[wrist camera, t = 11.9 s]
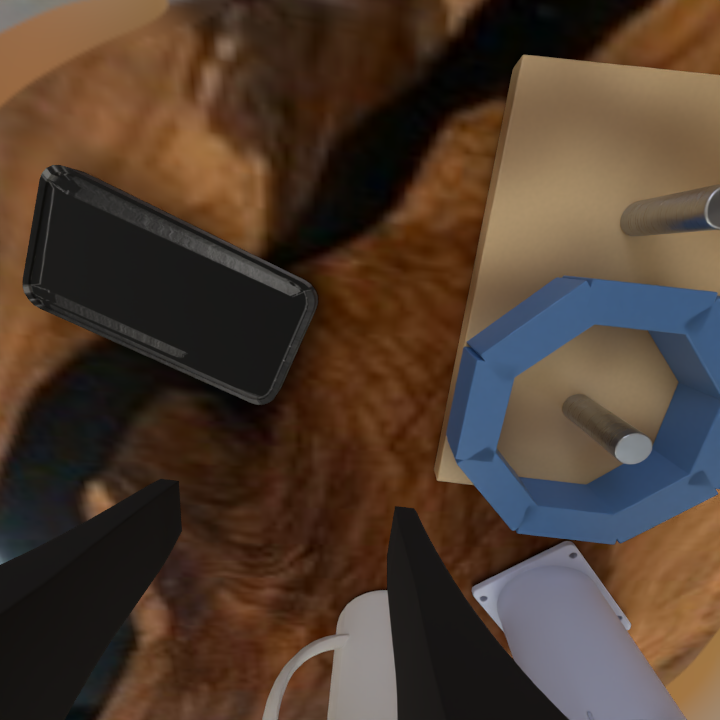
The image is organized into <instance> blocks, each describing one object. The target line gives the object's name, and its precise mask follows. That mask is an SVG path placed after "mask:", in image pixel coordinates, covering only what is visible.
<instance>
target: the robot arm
mask: <svg viewBox="0 0 720 720" xmlns="http://www.w3.org/2000/svg"><path fill="white" fill-rule="evenodd" d="M181 531H182V527H181V511H180V495H179V481H174V480H165V479H160V480H158V481H156V482H154V483H152V484H150V485H148V486H147V487H145V488H143V489H141V490H140V491H138V492H136V493H135V494H133V495H131V496H130V497H128V498H126V499H124V500H123V501H121V502H119V503H118V504H116V505H114V506H112V507H111V508H109V509H107V510H105V511H104V512H102V513H100V514H99V515H97V516H95V517H93V518H92V519H90V520H88V521H86V522H84V523H82V524H81V525H79V526H77V527H75V528H73V529H71V530H69V531H68V532H66V533H64V534H62V535H60V536H58V537H56V538H55V539H53V540H51V541H49V542H47V543H45V544H43V545H41V546H39V547H37V548H35V549H33V550H31V551H29V552H27V553H25V554H23V555H21V556H18V557H16V558H14V559H12V560H10V561H8V562H6V563H3V564H1V565H0V720H64V719H65V718H66V716H67V714H68V712H69V710H70V709H71V707H72V705H73V703H74V701H75V700H76V698H77V696H78V695H79V693H80V691H81V689H82V688H83V686H84V684H85V683H86V681H87V679H88V678H89V676H90V674H91V672H92V671H93V669H94V667H95V666H96V664H97V662H98V660H99V659H100V657H101V656H102V654H103V652H104V651H105V649H106V648H107V646H108V645H109V643H110V642H111V640H112V639H113V637H114V636H115V634H116V633H117V631H118V630H119V629H120V627H121V626H122V624H123V623H124V621H125V620H126V618H127V617H128V616H129V614H130V613H131V611H132V610H133V608H134V607H135V605H136V604H137V603H138V601H139V600H140V598H141V597H142V595H143V594H144V593H145V591H146V590H147V588H148V587H149V585H150V584H151V582H152V581H153V579H154V578H155V576H156V575H157V574H158V572H159V571H160V569H161V568H162V566H163V565H164V563H165V561H166V560H167V558H168V556H169V554H170V552H171V551H172V549H173V547H174V545H175V543H176V541H177V539H178V537H179V535H180V533H181ZM387 592H388V602H389V613H390V623H391V633H392V643H393V653H394V663H395V673H396V688H397V718H398V720H687V719H686V718H685V716H684V715H683V713H682V712H681V710H680V709H679V707H678V706H677V704H676V703H675V701H674V700H673V698H672V697H671V696H670V694H669V692H668V691H667V689H666V688H665V687H664V685H663V684H662V682H661V681H660V679H659V678H658V676H657V675H656V673H655V672H654V670H653V669H652V667H651V666H650V664H649V663H648V661H647V660H646V658H645V657H644V655H643V654H642V652H641V651H640V649H639V648H638V646H637V645H636V643H635V642H634V641H633V639H632V638H631V636H630V635H629V633H628V632H627V630H629V629H630V628H631V623H630V622H629V620H628V619H627V617H626V616H625V614H624V613H623V612H622V610H621V609H620V607H619V606H618V605H617V603H616V602H615V600H614V599H613V598H612V596H611V595H610V593H609V592H608V591H607V589H606V588H605V586H604V585H603V584H602V582H601V581H600V579H599V578H598V577H597V575H596V574H595V572H594V571H593V570H592V568H591V567H590V565H589V564H588V563H587V561H586V560H585V558H584V557H583V556H582V554H581V553H580V551H579V550H578V549H577V547H576V546H575V544H574V543H573V542H571V541H564V542H562V543H560V544H558V545H556V546H554V547H552V548H550V549H548V550H546V551H544V552H542V553H540V554H537V555H535V556H533V557H531V558H529V559H527V560H525V561H523V562H521V563H519V564H517V565H515V566H513V567H511V568H509V569H507V570H505V571H503V572H501V573H499V574H497V575H495V576H493V577H491V578H489V579H487V580H485V581H483V582H481V583H479V584H477V585H475V586H473V588H472V594H473V596H474V597H475V599H476V600H477V601H478V602H479V603H480V605H481V606H482V607H483V608H484V609H485V610H486V612H487V613H488V614H489V615H490V616H491V617H492V619H493V620H494V621H495V622H496V623H497V625H498V626H499V627H500V628H501V629H502V630H503V632H504V633H505V636H506V639H507V641H508V644H509V647H510V650H511V653H512V656H513V659H514V660H513V659H512V658H511V657H510V655H509V654H508V653H507V652H506V651H505V650H504V649H503V647H502V646H501V645H500V644H499V642H498V641H497V640H496V639H495V637H494V636H493V635H492V634H491V632H490V631H489V630H488V628H487V627H486V626H485V624H484V623H483V622H482V620H481V619H480V618H479V616H478V615H477V614H476V612H475V611H474V610H473V608H472V607H471V605H470V604H469V603H468V601H467V600H466V598H465V597H464V595H463V594H462V592H461V591H460V589H459V588H458V586H457V585H456V583H455V582H454V580H453V578H452V577H451V575H450V574H449V572H448V570H447V569H446V567H445V565H444V564H443V562H442V560H441V558H440V557H439V555H438V553H437V552H436V550H435V548H434V546H433V544H432V542H431V541H430V539H429V537H428V535H427V533H426V531H425V529H424V527H423V525H422V523H421V521H420V519H419V516H418V514H417V512H416V511H415V509H414V508H406V507H397V506H395V511H394V517H393V523H392V529H391V535H390V541H389V548H388V554H387Z"/></svg>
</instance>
